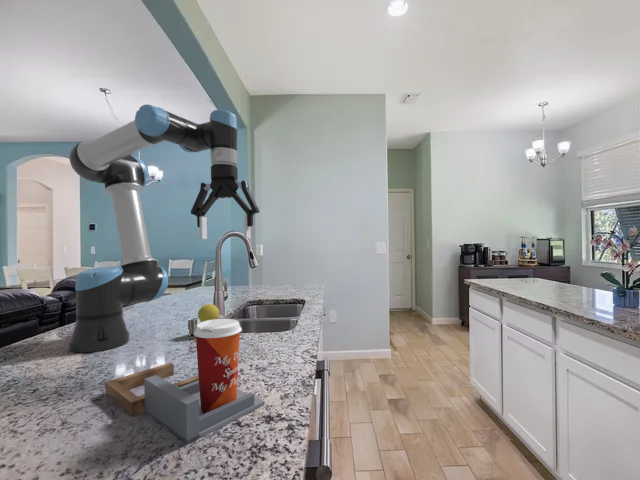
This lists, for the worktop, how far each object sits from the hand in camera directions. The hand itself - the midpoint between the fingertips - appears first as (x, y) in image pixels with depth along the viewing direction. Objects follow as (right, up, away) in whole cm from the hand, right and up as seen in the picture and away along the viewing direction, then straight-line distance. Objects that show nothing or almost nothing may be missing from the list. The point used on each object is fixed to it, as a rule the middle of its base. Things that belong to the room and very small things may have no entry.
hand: (225, 238), depth 93 cm
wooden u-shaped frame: (-6, -31, -28) cm, 42 cm away
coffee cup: (+10, -31, -36) cm, 48 cm away
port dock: (+7, -31, -35) cm, 47 cm away
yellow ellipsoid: (-9, -32, +14) cm, 36 cm away
